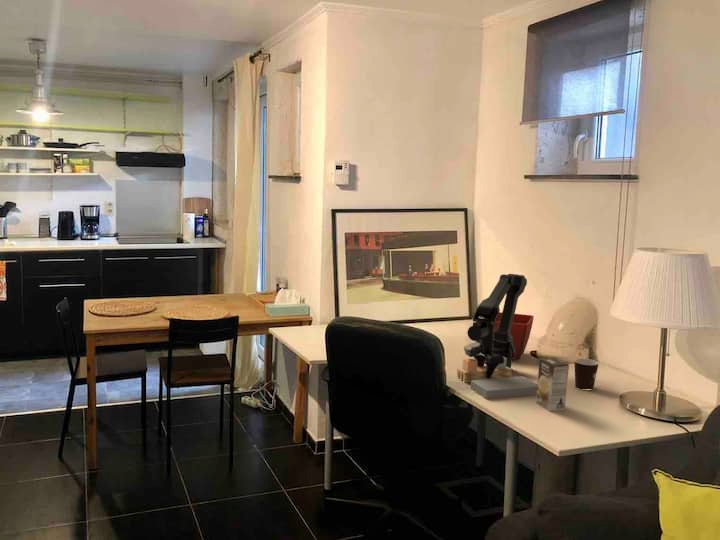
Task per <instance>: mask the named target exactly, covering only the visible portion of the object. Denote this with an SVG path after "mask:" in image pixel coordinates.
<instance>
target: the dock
mask: <svg viewBox="0 0 720 540" xmlns="http://www.w3.org/2000/svg"><path fill="white" fill-rule="evenodd" d="M537 385H538V383H536V382H534V381H533V380H531V379H529V378H528V377H526V376H523V375H522V376H511V377H509V378H496V379H483V380H471V382H470V389H471V390H472V389H473V390H472V391H473V392H475V391H476V392H475V393H477V394H478V395H480V396H481V397H483V398H484V399H486V400H491V399H502V398H513V397H524V396H534V395H535V396H537Z"/></svg>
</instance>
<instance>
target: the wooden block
mask: <svg viewBox="0 0 720 540" xmlns="http://www.w3.org/2000/svg"><path fill="white" fill-rule="evenodd" d="M512 369H513V368H511V369H510V368H509V367H507V366H506V369H495V370H494V372H493V374H492V376H491V377H490V378H487V371H486V365H484V366H477V371H466V370H464V369H463V367H456V378H457V377H458V378H460V379H461V380H463V381H464V382H468V383H471V380H483V379H496V378H509V377H512V372H513V371H512ZM458 378H457V379H458ZM460 379H459V380H460ZM461 380H460V381H461ZM463 381H462V382H463ZM464 382H463V383H464Z"/></svg>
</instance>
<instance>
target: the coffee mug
mask: <svg viewBox="0 0 720 540" xmlns="http://www.w3.org/2000/svg"><path fill="white" fill-rule="evenodd" d="M573 361H574V362H573V363H574V382H575V385H574V386H576V387H577V388H579V389H578V390H580V389H593V390H594V388H595V383H596V378H597V374H598V368H599V361H597V360H594V359H590V358H576V359H574V360H573ZM576 387H575V388H576ZM577 388H576V389H577Z"/></svg>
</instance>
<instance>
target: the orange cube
mask: <svg viewBox="0 0 720 540" xmlns="http://www.w3.org/2000/svg"><path fill="white" fill-rule="evenodd" d="M477 363H478V361H477V360H476V359H475V358H474V357H467V358H465V357H463V359H462V368H463V369H464V370H466V371H477Z"/></svg>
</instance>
